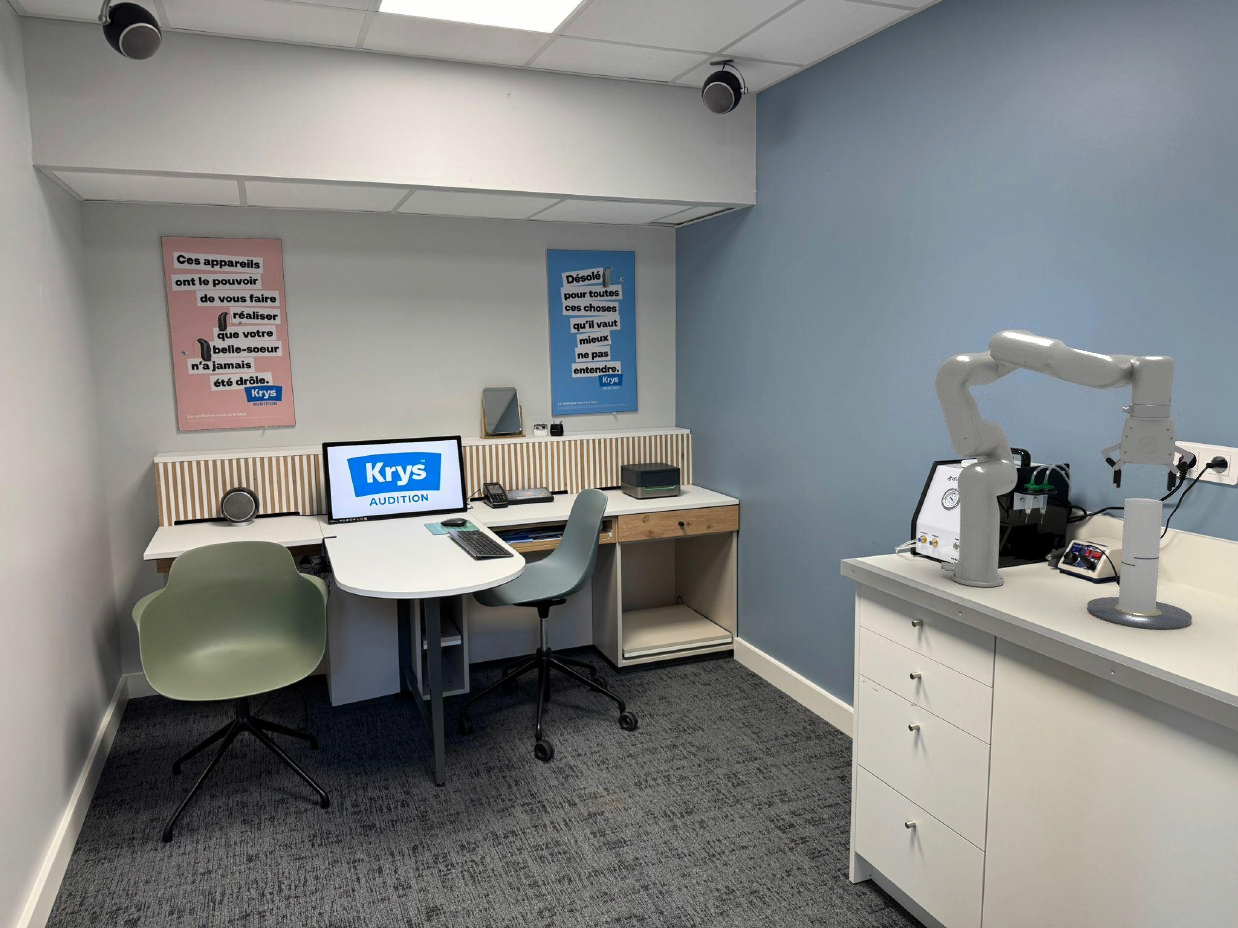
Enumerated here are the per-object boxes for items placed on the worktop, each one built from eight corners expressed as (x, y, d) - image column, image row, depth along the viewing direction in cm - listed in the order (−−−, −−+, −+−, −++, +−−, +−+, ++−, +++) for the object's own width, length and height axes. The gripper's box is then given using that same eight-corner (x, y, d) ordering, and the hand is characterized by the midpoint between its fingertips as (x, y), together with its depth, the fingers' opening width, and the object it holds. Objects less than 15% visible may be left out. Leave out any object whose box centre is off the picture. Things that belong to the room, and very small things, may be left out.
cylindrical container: (1154, 616, 180) (1161, 504, 177) (1116, 610, 184) (1123, 501, 181) (1156, 607, 186) (1163, 499, 182) (1120, 602, 190) (1126, 497, 187)
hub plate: (1087, 621, 181) (1087, 616, 181) (1086, 597, 198) (1086, 592, 198) (1196, 634, 171) (1197, 628, 171) (1186, 608, 189) (1186, 603, 188)
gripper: (1104, 412, 180) (1098, 488, 182) (1199, 415, 172) (1192, 494, 174) (1103, 409, 186) (1098, 483, 189) (1195, 412, 178) (1188, 489, 181)
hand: (1143, 488), depth 181 cm, fingers open, 9 cm apart
